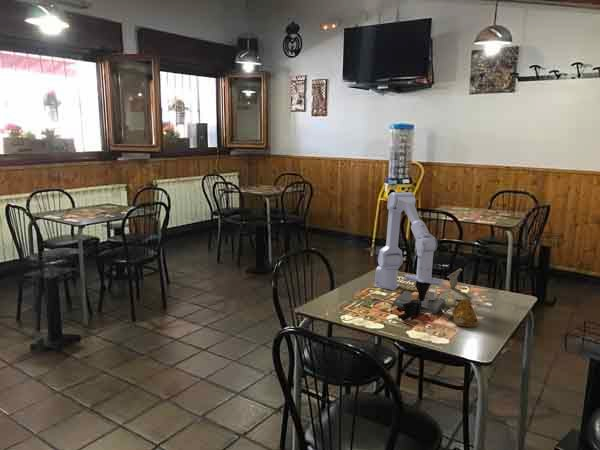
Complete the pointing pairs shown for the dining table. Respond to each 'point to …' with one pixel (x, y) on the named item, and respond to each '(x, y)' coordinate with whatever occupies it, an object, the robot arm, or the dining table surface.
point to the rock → (464, 314)
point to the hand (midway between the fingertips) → (421, 300)
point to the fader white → (432, 294)
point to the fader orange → (415, 296)
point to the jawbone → (454, 283)
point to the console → (426, 305)
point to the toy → (410, 309)
